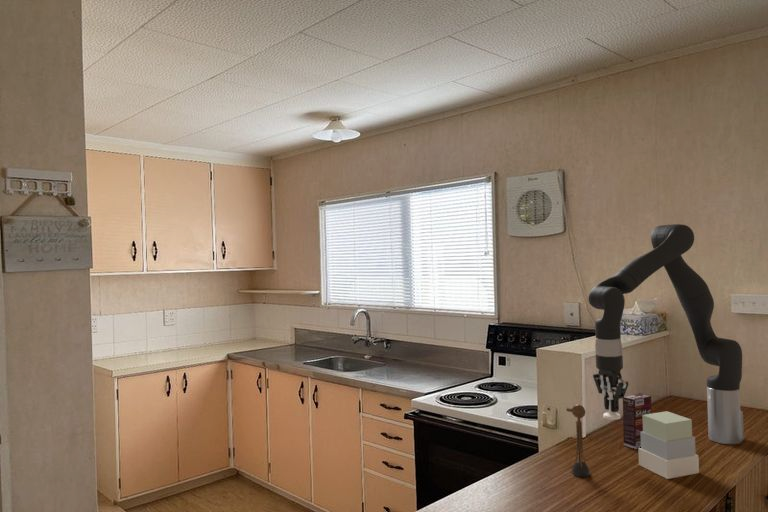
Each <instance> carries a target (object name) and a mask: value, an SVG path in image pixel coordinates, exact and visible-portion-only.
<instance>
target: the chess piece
mask: <svg viewBox="0 0 768 512" xmlns="http://www.w3.org/2000/svg"><path fill="white" fill-rule="evenodd" d="M607 388H608V386H607ZM607 392H608V395H609V397H608V398H607V399H608V400H609V410H607V412H604V413H602V414H603V416H602V417H603V418H604V419H607V420H610V421H614V420H616V421H617V420H620V419H622V416H621V414H620V413H617V412H612V411H611V405H610V399H611V398H610V392H609V391H608V389H607Z"/></svg>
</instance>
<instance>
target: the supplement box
mask: <svg viewBox="0 0 768 512" xmlns="http://www.w3.org/2000/svg"><path fill="white" fill-rule="evenodd" d="M652 413H653V412H652V396H651V395H648V394H646V393H645V394H644V393H636V394H631V395H628V396H624V398H622V421H623V423H622V424H623V425H622V426H623V427H622V428H623V429H622V430H623V431H622V432H623V446H624V447H625V446H626V447H628V448H630V449H633V448H634V449H633V450H637V449H638V448H640V447H641V436H640V432H641V431H643V418H642V415H646V414H652Z"/></svg>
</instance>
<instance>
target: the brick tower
mask: <svg viewBox="0 0 768 512" xmlns="http://www.w3.org/2000/svg"><path fill="white" fill-rule="evenodd" d="M642 418H643V431H641V432H640V436H641V448H637V449H638V452H637V453H638V465H639V466H640V467H642V468H645V469H646V470H648V471H650V472H652V473H654V474H656V475H659V476H660V477H663V478H664V479H666V480H669V479H675V478H681V477H685V476H689V475H696V474H699V473H700V467H699V466H700V465H699V464H700V462H699V461H700V460H699V457H700V456H699V454H696V437H695V436H693V424H692V423H693V421H692V420H693V419H691V418H688V417H685V416H682V415H679V414H676V413H673V412H670V411H667V410H666V411H660V412H652V414H646V415H642Z"/></svg>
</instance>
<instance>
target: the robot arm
mask: <svg viewBox="0 0 768 512" xmlns="http://www.w3.org/2000/svg"><path fill="white" fill-rule="evenodd" d="M694 241H695V233H694V231H693V230H692V228H691V227H690V226H689V225H687V224H681V223H677V224H672V223H671V224H662V225H658V226H656V227H654V228H653V229H652V232H651V235H650V242H651V245H652V248H653V249H652V250H650V251H648V252H646V253H645V254H642V255H640V256H638V257H636V258H634V259H633V260H630V261H629V262H628V263H626V264H625V265H624V266H623V267H622V268H621V269H620V270H619V271H617V272H616V273H615V274H614V275H613V276H610V277H608V278H607V279H605V280H603V281H601V282H599V283H598V284H596V285H595V286H594V287H592V289H591V290H590V292H589V294H588V302H589V305H590V306H591V307H593V308H594V309H597V310H603V314H602V315H603V316H602V317H599V318H597V319H596V320H595V322H594V329H595V331H594V333H595V335H594V336H595V345H594V348H595V352H594V353H595V367H596V369H597V370H598V372H597V373H594V374H592V377H593V381H594V383H595V386H596V389H597V391H598V394H601V395H602V397H603V406H604V409H605V410H607V411H609V400H608V399H607V398H608V397H609V395H608V392H607V390H608V391H609V392H610V398H611V399H610V405H611V411H612V412H616V413H617V412H619V411H620V410H619V409H620V407H619V405H620V404H619V401H620V399H621V400H622V399H623V398H624V397H625V395H626V392H627V390H628V386H629V381H624V380H623V376H622V373H621V370H623V368H624V363H623V361H624V360H623V358H624V357H623V344H622V336H621V322H622V318H623V313H624V308H625V304H626V303H625V302H626V301H625V296H624V295H627V294H630V293H632V292H633V291H635V290H636V289H637V288H638V287H639V286H640V285H641V284H642V283H644V282H645V281H646V280H647V279H648V278H650V276H652V275H653V274H655V273H656V272H657V271H659V270H660V269H661V268H663V267H664V269H665V271H666V273H667V275H668V278H669V279H670V281H671V283H672V286H673V288H674V290H675V292H676V295H677V298H678V301H679V302H680V305H681V307H682V309H683V311H684V313H685V315H686V318H687V321H688V323H689V325H690V329H691V330H692V331H691V332H692V334H693V337H694V341H695V343H696V346H697V350H698V352H699V355H700V357H701V359H702V360H703V361H704V362H705V363H706V364H708V365H711V366H716V367H719V368H718V374H716V375H711V376H710V375H709V376H708V377H707V378H706V399H707V401H706V402H707V430H708V439H709V440H710V441H713V442H714V443H718V444H723V445H738V444H739V445H740V444H741V443H742V442H743V441H744V435H745V434H744V412H743V411H742V410H741V397H740V396H741V393H740V391H741V390H740V387H741V386H740V385H741V381H742V377H743V349H742V347H741V344H740V343H739V342H738V341H737V340H734V339H729V338H723V337H718V336H717V335H716V334H715V331H714V329H713V327H712V323H711V320H712V319H711V318H712V315H713V312H714V308H715V301H714V298H713V294H712V293H711V290H710V288H709V286H708V284H707V282H706V281H705V279H703V277H702V276H700V274H698V273H697V272H696V271H695V270H694V269H693V268H692V267H691V266H689V264H688V263H687V262H686V261H685V260H684V258H683V256H682V255H684V254H685V253H687V252H688V251H690V249H691V248H692V247H693V245H694V243H695V242H694ZM607 386H608V388H607Z"/></svg>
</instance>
